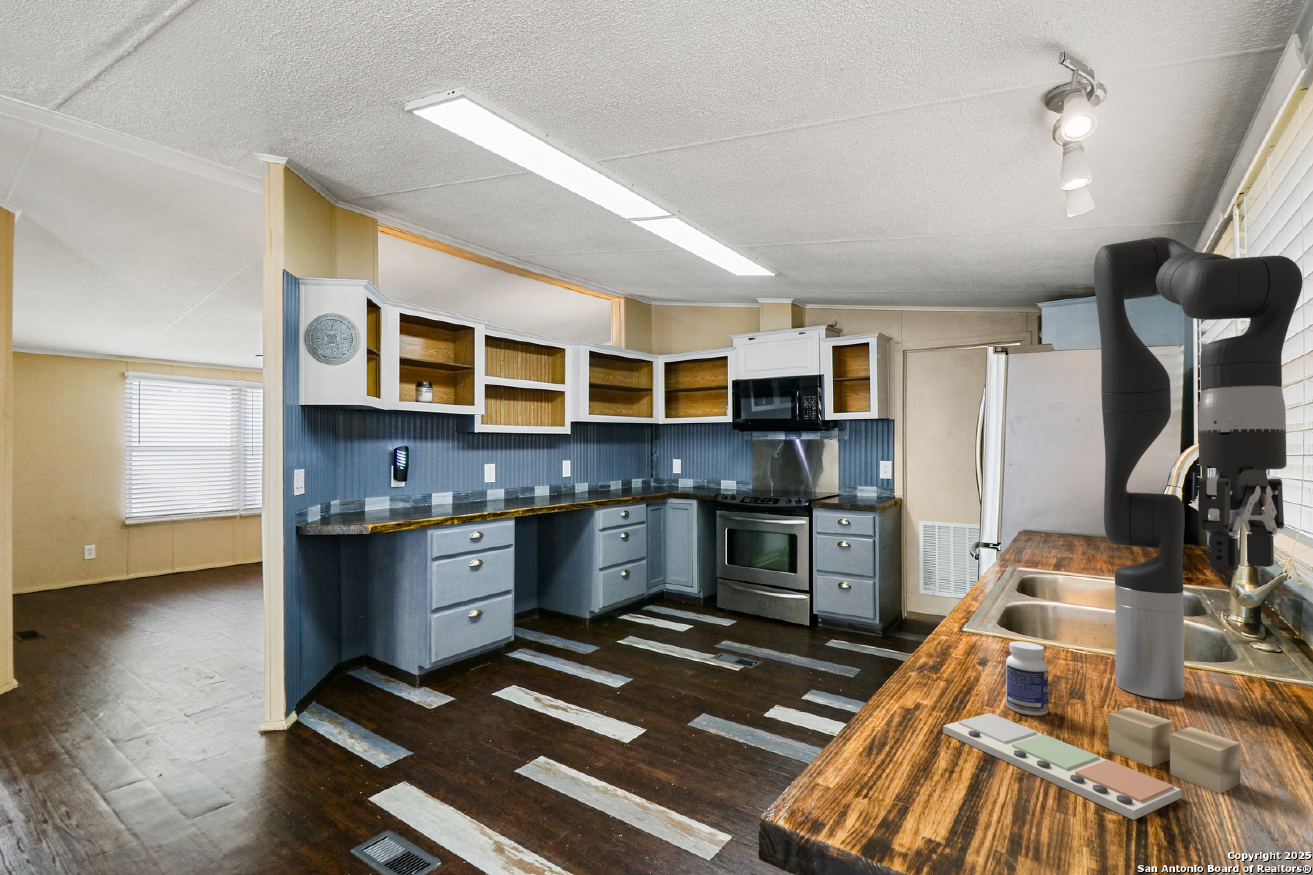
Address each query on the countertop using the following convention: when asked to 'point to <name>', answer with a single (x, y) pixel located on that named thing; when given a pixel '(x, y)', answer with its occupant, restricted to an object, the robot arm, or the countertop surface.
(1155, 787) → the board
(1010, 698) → the pill bottle
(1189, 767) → the maple block
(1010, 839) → the countertop surface
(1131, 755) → the maple block
